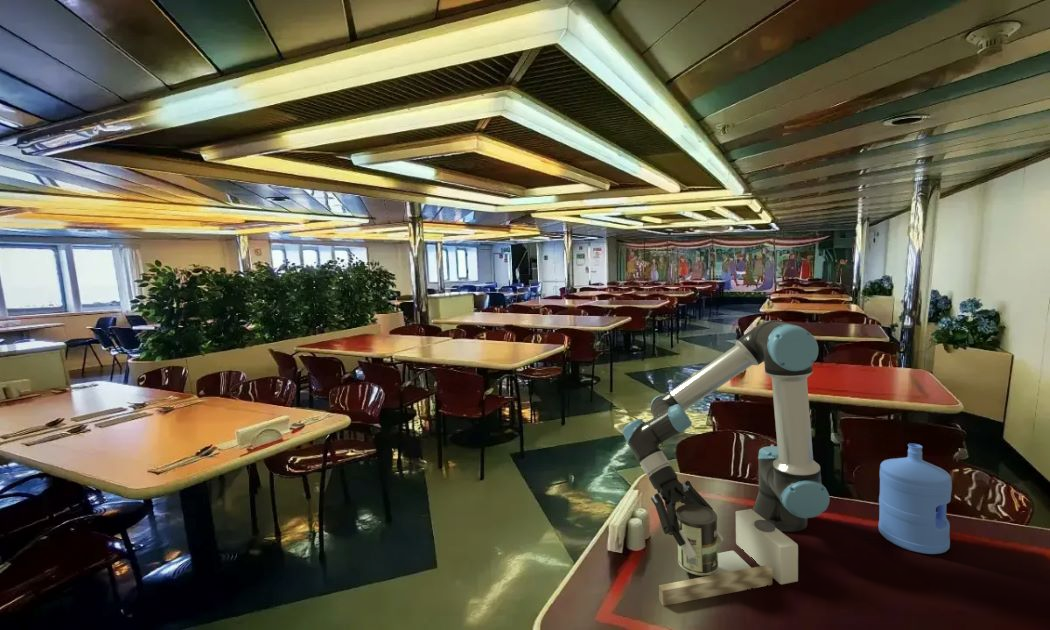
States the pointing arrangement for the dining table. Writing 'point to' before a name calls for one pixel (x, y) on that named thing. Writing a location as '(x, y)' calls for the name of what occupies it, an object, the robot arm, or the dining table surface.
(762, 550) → the end cabinet
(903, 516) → the water jug
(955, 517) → the dining table surface
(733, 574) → the guide rail
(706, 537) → the coffee can
